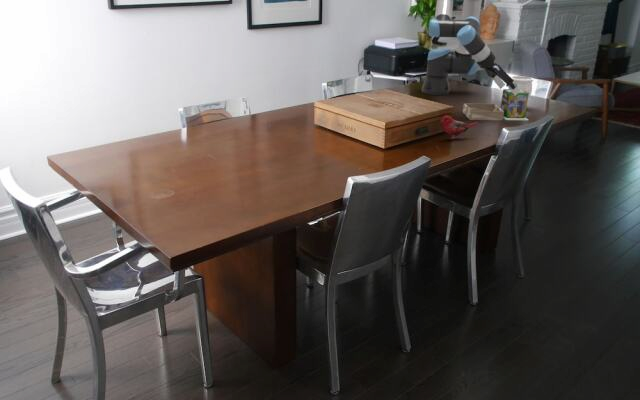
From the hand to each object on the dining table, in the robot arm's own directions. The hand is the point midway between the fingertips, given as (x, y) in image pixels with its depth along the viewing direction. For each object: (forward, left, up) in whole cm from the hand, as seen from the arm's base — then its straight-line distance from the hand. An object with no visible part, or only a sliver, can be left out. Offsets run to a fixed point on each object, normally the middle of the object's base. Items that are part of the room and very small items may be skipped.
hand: (509, 89), depth 238 cm
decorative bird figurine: (+35, -29, -13) cm, 48 cm away
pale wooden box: (-1, -10, -13) cm, 16 cm away
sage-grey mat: (-1, +4, -13) cm, 13 cm away
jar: (-17, +11, -13) cm, 24 cm away
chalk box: (-1, +3, -12) cm, 13 cm away
